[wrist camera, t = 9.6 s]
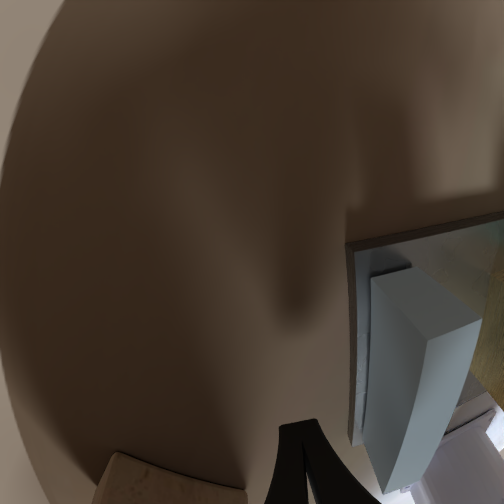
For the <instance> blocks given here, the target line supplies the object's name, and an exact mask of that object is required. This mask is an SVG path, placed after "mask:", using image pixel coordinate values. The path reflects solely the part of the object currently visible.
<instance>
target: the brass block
mask: <svg viewBox="0 0 504 504" xmlns="http://www.w3.org/2000/svg"><path fill="white" fill-rule="evenodd" d="M469 370H470V371H471V372H472V374H473V375H474V376H475V377H476V378H477V379H478V381H479V382H480V383H481V384H482V385H483V387H484V388H485V389H486V390H487V391H488V393H489V394H490V395H491V396H492V398H493V399H494V400H495V401H496V402H497V404H498V405H499V406H500V408H501V409H502V410H503V411H504V270H501V271H498V272H496V273H493V274H491V275H490V281H489V288H488V294H487V299H486V305H485V310H484V315H483V320H482V324H481V329H480V333H479V337H478V341H477V345H476V348H475V352H474V355H473V359H472V362H471V366H470V369H469Z"/></svg>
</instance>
